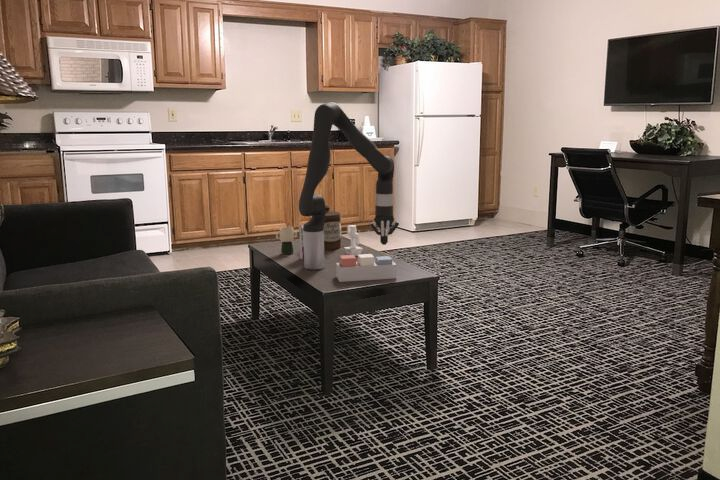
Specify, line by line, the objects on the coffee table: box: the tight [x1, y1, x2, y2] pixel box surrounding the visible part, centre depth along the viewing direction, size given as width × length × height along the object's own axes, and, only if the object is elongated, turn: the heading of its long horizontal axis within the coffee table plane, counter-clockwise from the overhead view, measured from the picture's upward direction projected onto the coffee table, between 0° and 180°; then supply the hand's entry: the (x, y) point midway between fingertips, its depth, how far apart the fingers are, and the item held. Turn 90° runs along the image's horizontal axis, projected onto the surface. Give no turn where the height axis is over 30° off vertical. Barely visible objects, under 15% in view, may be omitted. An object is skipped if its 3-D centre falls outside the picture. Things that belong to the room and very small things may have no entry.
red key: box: [339, 254, 357, 267], centre depth 247 cm, size 6×6×5 cm
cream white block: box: [357, 253, 375, 266], centre depth 249 cm, size 6×6×5 cm
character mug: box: [275, 226, 298, 255], centre depth 294 cm, size 11×7×13 cm, turn 111°
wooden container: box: [324, 205, 342, 251], centre depth 308 cm, size 15×15×22 cm
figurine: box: [343, 224, 364, 257], centre depth 289 cm, size 7×9×15 cm
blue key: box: [374, 255, 393, 265], centre depth 250 cm, size 6×6×5 cm
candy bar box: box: [298, 225, 304, 261], centre depth 283 cm, size 11×5×16 cm, turn 112°
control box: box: [335, 260, 397, 283], centre depth 250 cm, size 9×24×6 cm, turn 101°
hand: (383, 244), depth 249 cm, fingers closed
